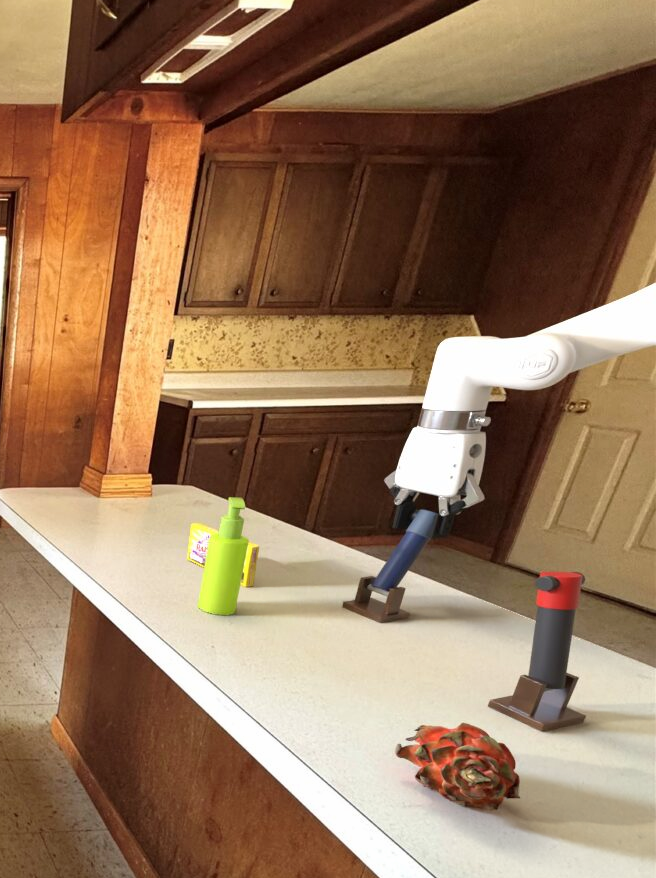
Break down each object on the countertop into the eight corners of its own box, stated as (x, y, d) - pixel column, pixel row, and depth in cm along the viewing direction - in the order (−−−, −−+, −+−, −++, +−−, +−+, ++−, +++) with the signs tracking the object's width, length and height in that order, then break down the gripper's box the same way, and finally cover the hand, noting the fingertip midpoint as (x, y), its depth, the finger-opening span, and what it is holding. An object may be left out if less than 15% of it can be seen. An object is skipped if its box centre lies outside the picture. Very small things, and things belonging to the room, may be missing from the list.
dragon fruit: (477, 846, 66) (404, 784, 77) (570, 808, 63) (480, 750, 75) (433, 779, 65) (366, 726, 77) (526, 738, 63) (442, 690, 74)
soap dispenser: (199, 615, 114) (218, 503, 107) (196, 600, 120) (214, 493, 113) (237, 619, 112) (260, 505, 105) (232, 604, 118) (254, 495, 111)
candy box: (184, 560, 140) (190, 523, 137) (193, 559, 140) (199, 522, 137) (244, 587, 125) (252, 546, 122) (253, 586, 126) (262, 545, 122)
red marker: (527, 574, 81) (563, 579, 77) (559, 569, 82) (595, 574, 78) (512, 689, 84) (546, 698, 80) (543, 682, 85) (578, 692, 81)
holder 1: (369, 602, 117) (377, 573, 115) (408, 618, 111) (417, 587, 109) (341, 606, 116) (349, 577, 114) (379, 622, 109) (388, 592, 107)
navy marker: (422, 513, 111) (410, 506, 110) (455, 521, 106) (443, 514, 105) (370, 591, 115) (358, 584, 113) (399, 602, 110) (387, 595, 109)
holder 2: (487, 706, 86) (500, 669, 84) (527, 697, 87) (542, 661, 85) (541, 731, 80) (557, 692, 78) (583, 722, 82) (600, 683, 80)
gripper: (532, 426, 95) (494, 545, 102) (414, 413, 111) (388, 517, 118) (491, 429, 94) (455, 550, 100) (378, 416, 110) (353, 521, 116)
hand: (419, 531), depth 109 cm, fingers closed on navy marker, 5 cm apart
